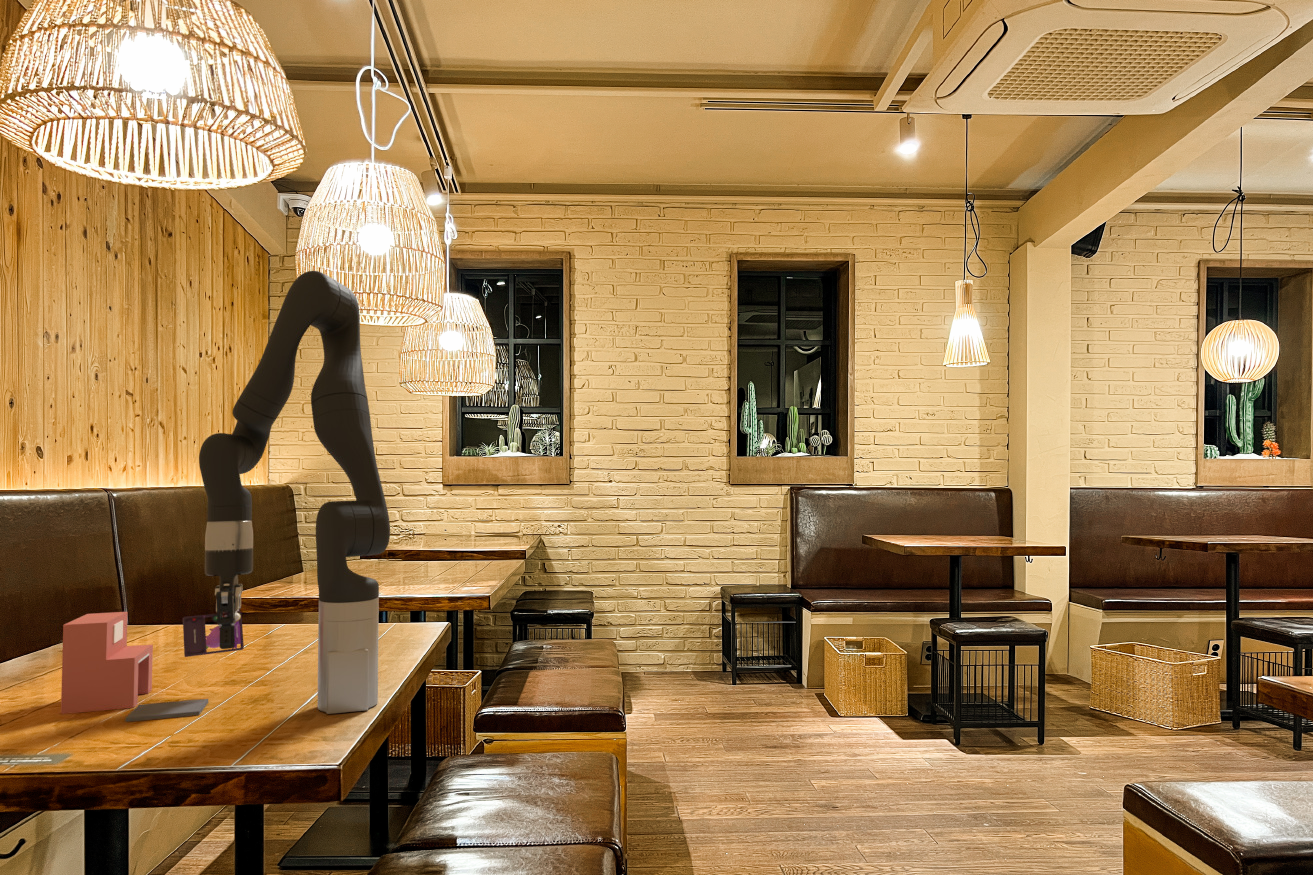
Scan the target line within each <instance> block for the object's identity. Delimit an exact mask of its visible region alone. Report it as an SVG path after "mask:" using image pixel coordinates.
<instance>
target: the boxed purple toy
mask: <svg viewBox="0 0 1313 875" xmlns="http://www.w3.org/2000/svg"><path fill="white" fill-rule="evenodd" d="M228 616H230V612H229V613H223V617H228ZM206 618H211V620H212V621H213V623H217V613H212V614H211V613H210V614H201V615H191V616H189V615H188V616H184V617H182V628H183V629H182V630H183V632H182V634H183V652H184V655H183V656H184V657H185V658H188V657H189V658H190V657H196V656H203V655H205V656H206V655H212V654H221V653H229V652H230V653H231V652H237V651H243V650H244V649H245V644H244V634H243V633H244V632H243V630H244V629H243V617H242V611H241V610H239V612H236V614H235V621H236V624H235V644H234V647H233V648H230V649H218V650H213V651H208V650H209V648H212V649H216V648H220V627H219V625H217V626H215V627H214V628H209V631H210V632H209V634H208V635H207V634H206V632H207V631H206ZM238 645H240V647H238Z"/></svg>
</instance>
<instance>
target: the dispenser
mask: <svg viewBox="0 0 1313 875" xmlns="http://www.w3.org/2000/svg"><path fill="white" fill-rule="evenodd" d="M128 613H129V612H128V611H119V612H118V611H114V612H99V613H97V612H96V613H86V614H84V615H82V616H79V617H78V618H75V619H73V620H71V621H69V622H66V623H64V624H63V625H62V626H63V630H62V657H61V658H62V659H61V660H62V661H61V694H60V696H61V697H60V699H61V700H60V715H64V714H66V715H67V714H75V713H87V712H98V711H108V710H109V711H111V710H121V709H133V708H134V709H135V708H136V707H137V706H138V705H139V704H138V702H139V701H138V700H139V699H138V698H139V696H138V695H145V694H147V695H148V694H150V692H152V691H153V690H152V689H153V656H154V655H153V652H154V648H153V647H154V644H141V645H140V644H139V645H128V644H127V642H128Z"/></svg>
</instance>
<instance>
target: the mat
mask: <svg viewBox="0 0 1313 875" xmlns="http://www.w3.org/2000/svg"><path fill="white" fill-rule="evenodd" d="M208 703H209V698H203V699H191V700H179V701H177V700H176V701H167V702H166V701H165V702H155V703H143V704H142V703H141V704H137V705H136V706H135V707H134V709H133V710H131V711H130V713H129V714H128V715H126V717H125V719H124V720H125V722H124V723H127V722H129V723H130V722H139V721H148V720H160V719H161V720H162V719H170V718H171V719H173V718H182V717H193V716H194V715H195V716H200V714H201V713H202V712H203V710H204V709H205V708H206V706H207V705H208ZM192 715H193V716H192Z"/></svg>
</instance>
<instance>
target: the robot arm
mask: <svg viewBox="0 0 1313 875" xmlns="http://www.w3.org/2000/svg"><path fill="white" fill-rule="evenodd" d="M280 307H281V308H280V310H279V313H278V315H277V318H276V320H275V323H274V325H273V327H272V330H271V332H270V336H269V338H268V341H267V343H266V346H265V348H264V351H263V354H262V356H261V358H260V360H259V362H258V364H257V366H256V368H255V370H254V372H253V374H252V376H251V377H250V379H249V380H248V382H247V384H246V385H245V387H244V389H243V390H242V392H241V394H240V395H239V397H238V399H237V400H236V403H235V404H234V406H233V407H232V413H231V414H232V416H233V418H234V419H235V420H236V424H235V426H234V429H233V431H232V433H227V432H217V433H213V434H211V435H209V436H208V437H206V438H205V440H204V441H203V442H202V444H201V447H200V450H199V453H198V454H199V455H198V465H199V470H200V474H201V479H202V482H203V486H204V490H205V493H206V494H205V495H206V497H207V504H206V505H207V509H206V510H207V511H206V512H207V514H206V517H207V518H206V527H205V528H206V529H205V535H204V537H205V538H204V539H205V540H204V574H205V575H206V576H208V577H219V584H218V585H217V586H215V587H214V596H215V598H216V601H215V602H216V603H215V612H216V614H217V622H216V623H217V626H219V627H220V647H219V649H220V650H228V649H232V648H233V647H234V644H235V624H236V621H235V614H236V612H239V611H241V607H242V593H243V583H239V575H249V574H251V573H252V572H253V570H254V528H253V521H252V519H253V513H252V511H253V501H252V499H253V498H252V494H251V491H250V490H248V489H247V488H245V487H244V486H243V484H242V480H241V475H242V474H246V473H249V472H250V471H252V470H253V469H254V468H255V467H256V466H257V465H258V463H259V462H260V461H261V459H262V458H263V455H264V454H265V453H264V452H265V449H266V447H267V444H268V441H269V438H270V435H271V431H272V427H273V424H274V423H275V422H276V420H277V418H278V416H279V415H280V414H281V412H282V410H283V408H284V407H285V405H286V403H287V402H288V400H289V398H290V396H291V393H292V390H293V386H294V382H295V371H296V359H297V354H298V348H299V345H300V343H301V341H302V339H303V337H304V335H305V333H306V331H307V330H308V329H309V328H310V327H313V328H316V329H317V330H318V331H319V334H320V336H321V342H322V348H323V358H324V359H323V363H322V367H321V369H320V371H319V373H318V375H317V377H316V379H315V381H314V384H313V386H312V388H311V394H310V404H311V413H312V422H313V430H314V433H315V435H316V437H317V439H318V441H319V442H320V443H321V445H322V446H323V448H325V450H326V451H327V452H328V454H329V455H330V456H331V457H332V458H333V459H334V460H335V462H336V463H337V464H338V465H339V467H340V468H341V469H342V471H343V472H344V473H345V475H346V477H347V478H348V480H349V482H350V484H351V487H352V489H353V493H354V497H355V500H337V501H336V500H335V501H333V500H332V501H331V500H330V501H327V502H324V503H323V504H322V505H321V506H320V508H319V509H318V512H317V515H316V518H315V519H316V520H315V547H316V548H315V549H316V578H317V579H316V580H317V587H318V621H317V622H318V623H317V624H318V631H317V634H318V636H317V710H319V711H321V712H324V713H326V714H327V715H328V714H329V715H331V714H332V715H333V714H340V713H342V714H343V713H349V712H350V713H351V712H361V711H368V710H369V709H370V708H372V707H374V706H376V705H378V703H379V702H378V700H379V613H380V612H379V611H380V610H379V609H380V607H379V606H380V605H379V604H380V602H379V600H380V598H379V597H380V586H379V582H378V581H377V579H375V578H372V577H369V576H365V575H360V574H358V573H356V572H354V571H353V570H351V569H350V568H349V567H348V562H347V558H351V557H353V558H354V557H366V556H367V557H370V556H378V555H381V554H382V553H384V552H385V551H386V549H387V548H388V546H389V543H390V538H391V524H390V516H389V510H388V506H387V502H386V497H385V495H384V494H385V493H384V489H383V485H382V481H381V478H380V477H381V476H380V473H379V469H378V463H377V459H376V453H375V446H374V445H375V444H374V438H373V430H372V423H371V422H372V420H371V414H370V413H371V412H370V407H369V401H368V395H367V394H368V393H367V389H366V384H365V375H364V366H363V360H362V350H361V322H360V321H361V320H360V317H361V316H360V308H359V307H360V306H359V303H358V299H357V296H356V295H355V294H354V291H353V290H352V289H351V288H348V286H345V284H342V283H341V282H339V281H337V280H336V279H334V278H332V277H331V276H329V275H327V274H325V273H323V272H322V271H319V270H308V271H306V272H303V273H301V274H300V275H298V277H297V278H295V280H294V281H293V283H292V284H291V286H290V287H289V289H288V291H287V293H286V295H285V297H284V300H283V303H282V305H281V306H280ZM229 612H230V616H228V617H223V613H229ZM233 649H234V648H233Z"/></svg>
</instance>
